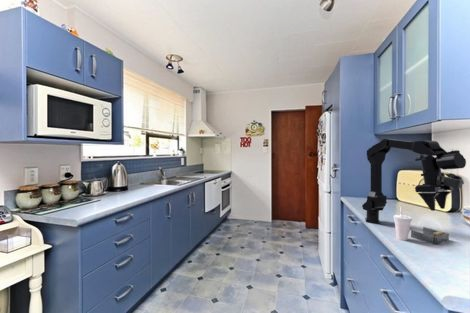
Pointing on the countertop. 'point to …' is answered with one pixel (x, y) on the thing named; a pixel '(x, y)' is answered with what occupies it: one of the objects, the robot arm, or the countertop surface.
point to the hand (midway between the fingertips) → (438, 209)
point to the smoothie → (402, 225)
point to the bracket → (430, 236)
